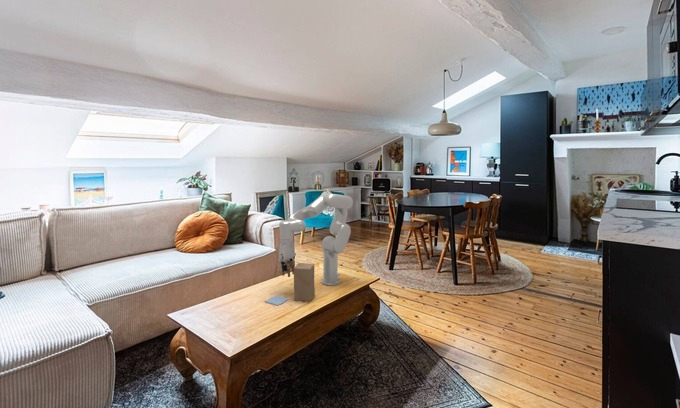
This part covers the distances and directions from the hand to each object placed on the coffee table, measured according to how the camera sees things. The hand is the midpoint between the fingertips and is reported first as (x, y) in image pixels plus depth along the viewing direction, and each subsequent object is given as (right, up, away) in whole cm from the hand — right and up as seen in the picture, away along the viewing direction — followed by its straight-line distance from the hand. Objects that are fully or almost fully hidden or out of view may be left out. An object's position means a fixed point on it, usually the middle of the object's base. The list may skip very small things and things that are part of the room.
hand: (288, 269), depth 213 cm
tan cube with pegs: (0, -4, +1) cm, 4 cm away
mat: (-5, -17, -10) cm, 20 cm away
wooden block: (+11, -17, -5) cm, 20 cm away
